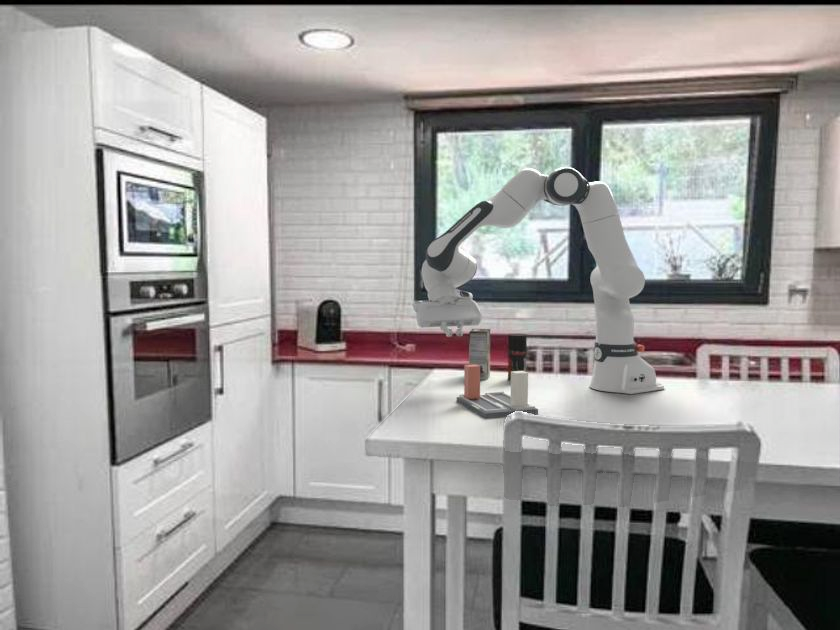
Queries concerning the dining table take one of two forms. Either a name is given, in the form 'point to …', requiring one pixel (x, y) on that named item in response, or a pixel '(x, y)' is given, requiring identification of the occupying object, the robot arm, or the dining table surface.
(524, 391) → the block
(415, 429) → the dining table surface
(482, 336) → the coffee box
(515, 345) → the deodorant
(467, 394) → the block
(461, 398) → the slotted fader panel
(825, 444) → the dining table surface
